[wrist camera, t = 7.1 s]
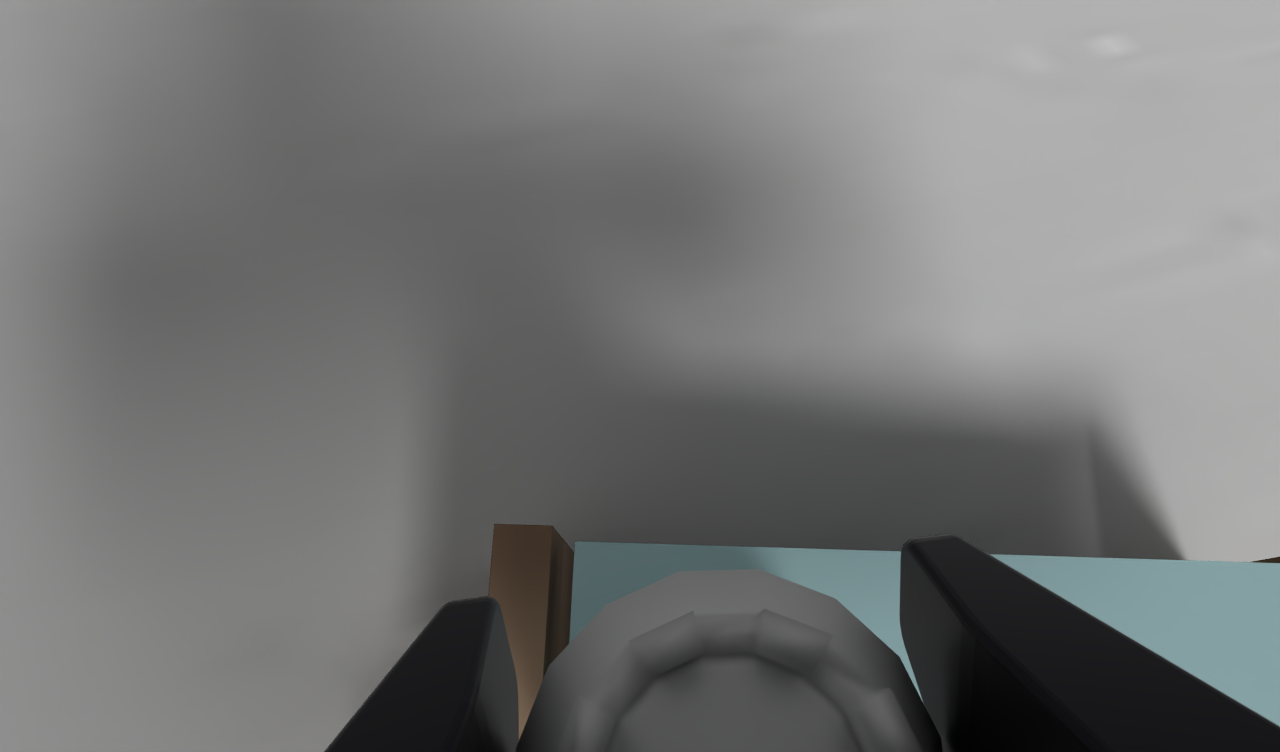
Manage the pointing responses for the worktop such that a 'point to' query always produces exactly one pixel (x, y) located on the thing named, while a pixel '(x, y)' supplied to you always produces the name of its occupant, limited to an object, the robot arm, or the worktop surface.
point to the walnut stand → (539, 600)
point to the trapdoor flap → (1104, 587)
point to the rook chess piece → (727, 675)
